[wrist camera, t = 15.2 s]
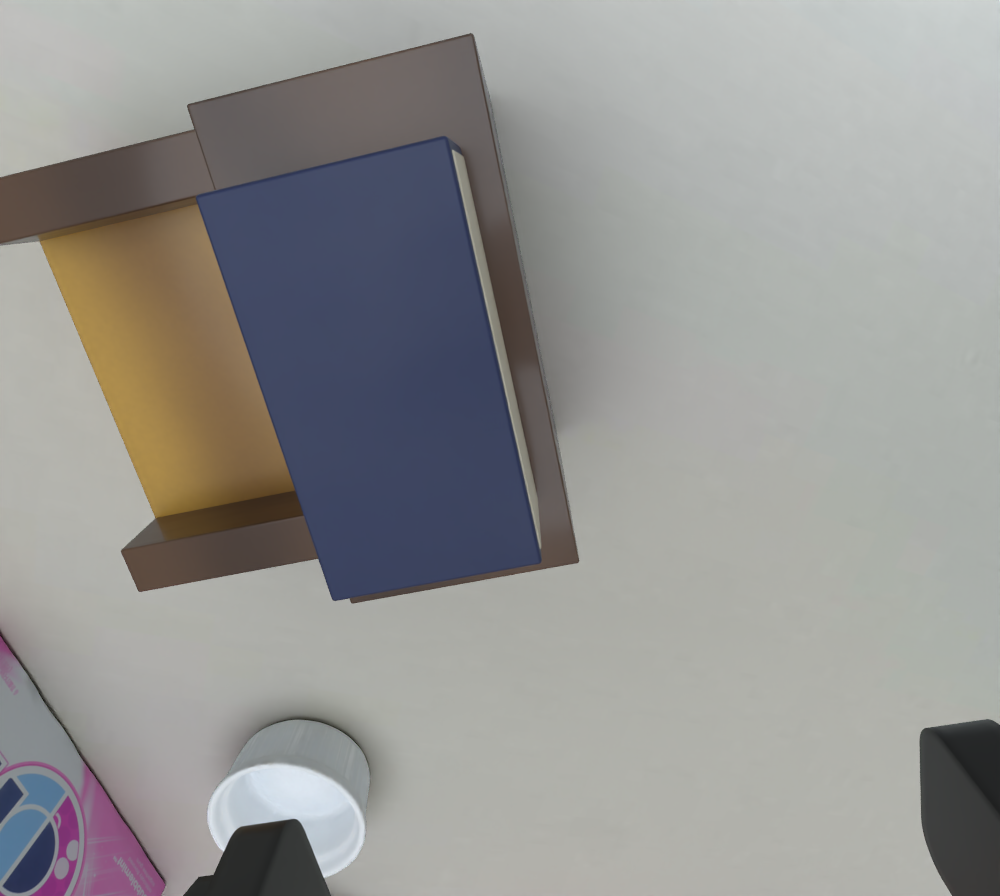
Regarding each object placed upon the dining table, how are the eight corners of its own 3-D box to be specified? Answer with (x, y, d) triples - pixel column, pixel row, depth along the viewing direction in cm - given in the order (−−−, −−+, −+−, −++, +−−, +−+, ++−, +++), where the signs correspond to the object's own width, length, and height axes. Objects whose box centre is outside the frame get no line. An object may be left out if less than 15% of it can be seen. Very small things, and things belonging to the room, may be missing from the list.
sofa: (488, 93, 31) (473, 32, 19) (557, 436, 36) (579, 563, 24) (102, 187, 32) (-146, 187, 20) (222, 502, 38) (82, 652, 26)
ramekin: (394, 812, 45) (382, 874, 41) (259, 830, 46) (235, 893, 42) (357, 698, 42) (341, 753, 38) (214, 720, 43) (183, 776, 39)
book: (461, 144, 20) (449, 134, 16) (539, 503, 23) (544, 564, 19) (252, 193, 20) (192, 195, 16) (360, 536, 24) (332, 602, 20)
